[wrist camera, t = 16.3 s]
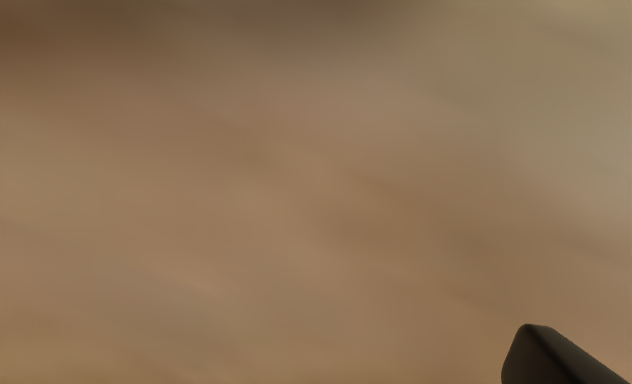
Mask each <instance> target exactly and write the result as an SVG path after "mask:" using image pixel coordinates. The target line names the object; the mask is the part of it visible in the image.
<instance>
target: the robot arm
mask: <svg viewBox="0 0 632 384" xmlns="http://www.w3.org/2000/svg"><path fill="white" fill-rule="evenodd" d="M501 381H502V384H630V383H628V382H627V381H626V380H624V379H623V378H621V377H620V376H619V375H617V374H616V373H614V372H613V371H612V370H610V369H609V368H607V367H606V366H605V365H603V364H602V363H600V362H599V361H598V360H596V359H595V358H593V357H592V356H591V355H589V354H588V353H586V352H585V351H584V350H582V349H581V348H579V347H578V346H577V345H575V344H574V343H572V342H571V341H570V340H568V339H567V338H565V337H564V336H563V335H561V334H560V333H558V332H557V331H556V330H554V329H553V328H550V327H547V326H541V325H534V324H524V325H522V326H521V327H520V328H519V329H518V331H517V333H516V335H515V338H514V340H513V343H512V345H511V347H510V350H509V352H508V354H507V357H506V359H505V361H504V364H503V367H502V373H501Z"/></svg>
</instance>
